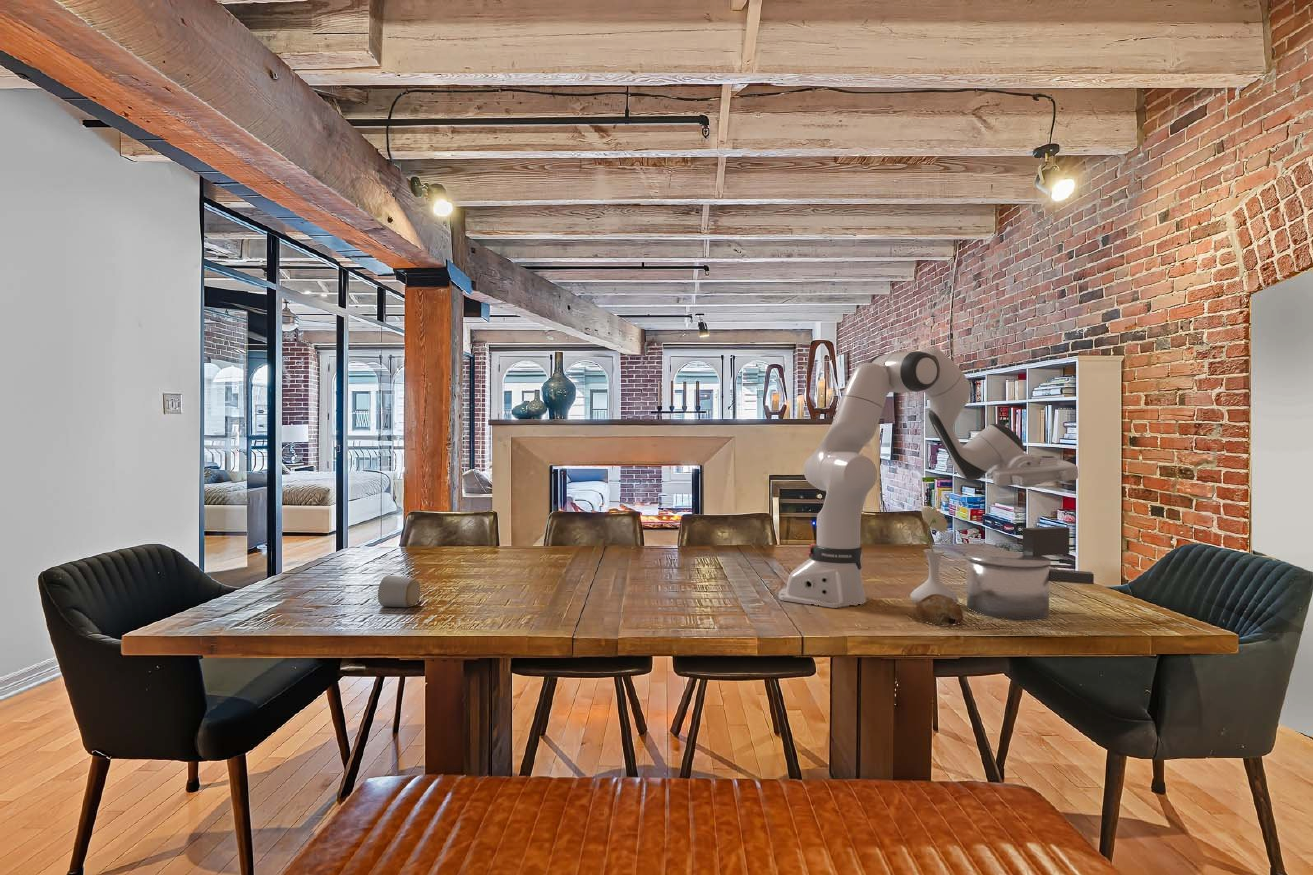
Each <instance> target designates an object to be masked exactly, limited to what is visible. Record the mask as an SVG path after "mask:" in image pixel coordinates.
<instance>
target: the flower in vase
mask: <svg viewBox="0 0 1313 875" xmlns="http://www.w3.org/2000/svg"><path fill="white" fill-rule="evenodd" d="M921 514H922V515H921V517H922V519H923V520H924V522H925V523H927V525H928V528H927V532H926V535H924V534H921V537H920V538H919V541H922V542H923V543H926V544H929V547H930V549H929V548H926V549H923V552H924V554H925V555H926V558H927V562H928V568H929V569H928V571H929V572H928V578H927V579H926V581H925V582H923V583H922V584H921V585H919V586H917V587H916V588H915V589H913V591H912V592H911V593H910V595H909V596H910V599H911V601H913V602H916V603H917V604H919V601H921V600H922V599H924V598H925V597H927V596H930V595H932V594H940V595H944V596H947V597H950V598H952V599H953V601H954V602H955V603H957V604H958V603H959V599H958V596H957V595H956V594H955V593H954V592H953V591H952V590H951V589H949V587H947V586H946V585H945V584H944V583H943V582H942V581H941V579H940V575H939V574H940V573H939V571H940V570H939V569H940V562H941V559H942V557H943V556H944V554H945V552H946V551H944V550H943V549H936V548H933V546H932V545H934V544H936V543H939V542H941V541H942V540H943V537H941V538H940V539H939V540H937V541H934V542H932V543H931V541H930V538H929V533H930V529H932V530H935V531H936V532H940V533H943V532H944V533H945V532H947V531H948V527H949V523H948V522H947V521H948V520H947V519H946V518H945V514H944V513H942V512H941V511H940V510H937V508H936V507H931V506H930V505H927V506H926V507H923V508H921Z"/></svg>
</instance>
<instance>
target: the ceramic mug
mask: <svg viewBox="0 0 1313 875" xmlns="http://www.w3.org/2000/svg"><path fill="white" fill-rule="evenodd" d="M420 597H421V585H420V582H419V580H418V579H416V578H413V577H407V576H406V577H405V576H397V575H389V574H388V575H385V576H384V577H383V578H382V579H381V581H380V583H379V585H378V590H377V600H378V603H379V605H380V606H381V607H385V608H386V607H387V608H388V607H389V608H412V607H413V606H415V605H416V604H417V603H418V601H419V600H420Z"/></svg>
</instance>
